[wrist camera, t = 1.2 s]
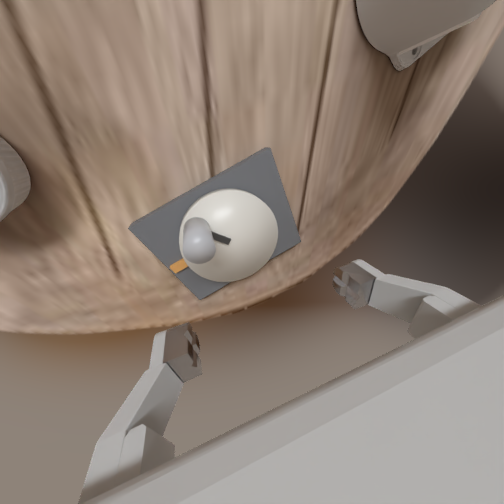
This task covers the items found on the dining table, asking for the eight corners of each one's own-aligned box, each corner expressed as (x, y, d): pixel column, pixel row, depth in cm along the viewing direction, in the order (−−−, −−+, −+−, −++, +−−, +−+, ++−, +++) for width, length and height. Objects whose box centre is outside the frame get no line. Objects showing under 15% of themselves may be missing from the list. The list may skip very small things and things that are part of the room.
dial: (289, 214, 30) (317, 233, 24) (247, 282, 35) (261, 315, 28) (203, 167, 23) (210, 176, 17) (165, 261, 28) (158, 297, 21)
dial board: (264, 147, 26) (271, 147, 24) (295, 237, 36) (302, 242, 34) (131, 223, 26) (126, 230, 24) (199, 292, 36) (200, 302, 34)
